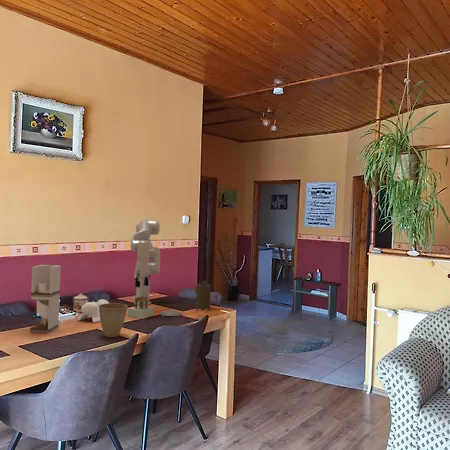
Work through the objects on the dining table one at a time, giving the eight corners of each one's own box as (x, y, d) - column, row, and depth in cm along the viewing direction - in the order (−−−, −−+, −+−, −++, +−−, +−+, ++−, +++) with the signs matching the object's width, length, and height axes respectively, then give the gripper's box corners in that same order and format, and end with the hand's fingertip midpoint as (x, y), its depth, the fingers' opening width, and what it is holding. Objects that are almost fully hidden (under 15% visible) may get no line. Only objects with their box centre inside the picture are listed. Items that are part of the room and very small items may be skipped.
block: (127, 316, 274) (127, 308, 274) (138, 313, 285) (138, 305, 285) (143, 318, 269) (143, 310, 269) (153, 315, 280) (154, 307, 280)
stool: (134, 308, 275) (135, 297, 275) (139, 306, 281) (140, 296, 281) (142, 309, 273) (142, 298, 273) (147, 307, 278) (148, 297, 278)
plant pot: (99, 340, 218) (100, 309, 218) (96, 332, 232) (97, 303, 232) (128, 338, 224) (129, 307, 224) (123, 331, 238) (124, 302, 238)
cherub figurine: (114, 300, 271) (96, 302, 252) (111, 320, 270) (93, 323, 251) (96, 298, 275) (77, 299, 256) (93, 317, 274) (74, 320, 255)
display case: (39, 326, 240) (42, 264, 240) (58, 327, 240) (60, 265, 239) (29, 332, 229) (32, 266, 228) (49, 332, 228) (51, 267, 228)
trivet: (154, 315, 280) (154, 313, 280) (166, 311, 294) (166, 309, 294) (174, 318, 274) (174, 316, 274) (185, 313, 288) (185, 312, 288)
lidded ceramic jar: (69, 311, 282) (70, 293, 282) (79, 309, 290) (80, 292, 290) (83, 313, 277) (84, 295, 277) (93, 311, 285) (94, 293, 285)
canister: (211, 308, 311) (212, 280, 310) (209, 311, 300) (210, 282, 300) (196, 307, 312) (197, 280, 312) (193, 310, 301) (194, 281, 301)
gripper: (145, 259, 286) (144, 284, 286) (130, 260, 270) (129, 287, 270) (155, 259, 283) (154, 285, 283) (140, 261, 267) (139, 288, 267)
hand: (141, 286), depth 276 cm, fingers open, 9 cm apart
